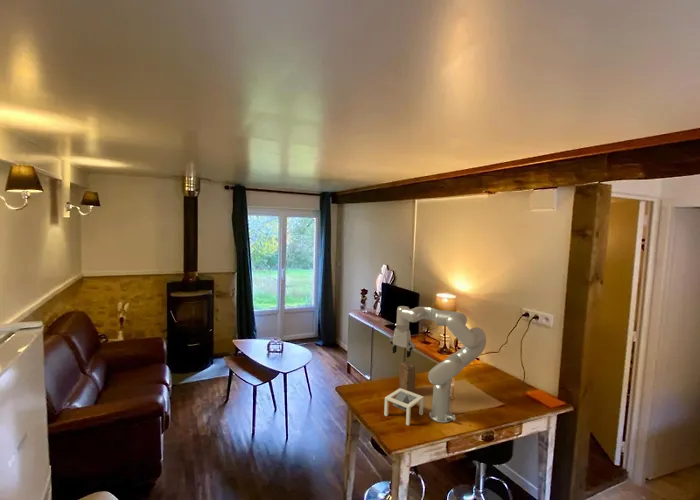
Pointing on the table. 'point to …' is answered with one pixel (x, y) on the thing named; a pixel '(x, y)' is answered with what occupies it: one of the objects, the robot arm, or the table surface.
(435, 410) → the robot arm
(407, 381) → the block
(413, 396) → the trapdoor
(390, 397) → the frame
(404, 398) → the stone
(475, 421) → the table surface
